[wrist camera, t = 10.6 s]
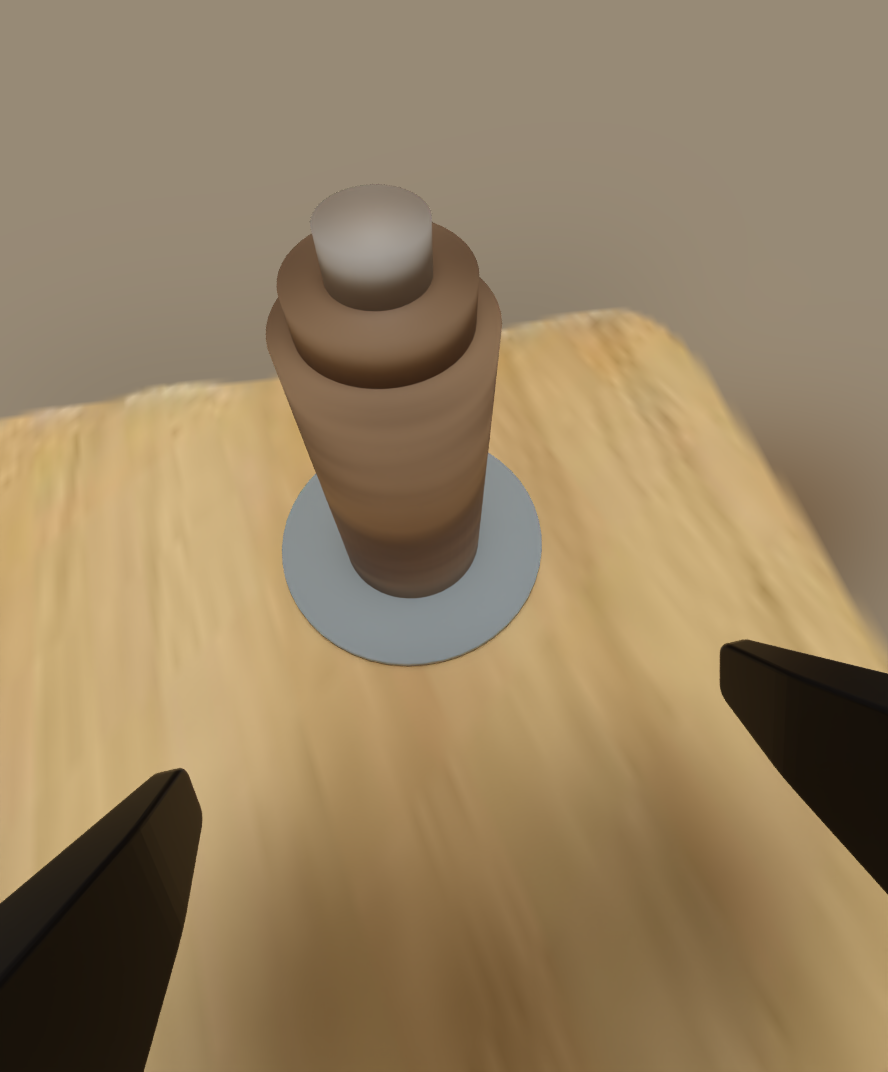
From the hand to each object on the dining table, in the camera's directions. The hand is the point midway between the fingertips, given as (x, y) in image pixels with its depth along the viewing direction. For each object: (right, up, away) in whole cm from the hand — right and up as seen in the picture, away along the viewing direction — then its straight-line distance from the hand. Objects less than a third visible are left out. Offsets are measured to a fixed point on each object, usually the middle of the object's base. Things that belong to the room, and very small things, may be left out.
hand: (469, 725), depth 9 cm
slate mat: (-2, +3, +14) cm, 14 cm away
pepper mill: (-2, +3, +14) cm, 14 cm away
